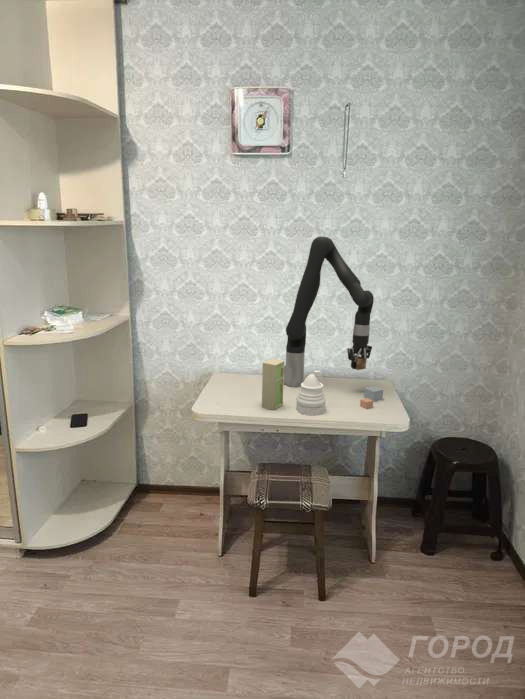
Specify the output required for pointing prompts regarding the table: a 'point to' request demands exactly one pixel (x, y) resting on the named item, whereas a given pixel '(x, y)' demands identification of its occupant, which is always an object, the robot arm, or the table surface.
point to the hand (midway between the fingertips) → (358, 367)
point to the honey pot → (311, 396)
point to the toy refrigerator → (272, 384)
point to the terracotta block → (366, 403)
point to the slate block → (373, 393)
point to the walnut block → (360, 363)
